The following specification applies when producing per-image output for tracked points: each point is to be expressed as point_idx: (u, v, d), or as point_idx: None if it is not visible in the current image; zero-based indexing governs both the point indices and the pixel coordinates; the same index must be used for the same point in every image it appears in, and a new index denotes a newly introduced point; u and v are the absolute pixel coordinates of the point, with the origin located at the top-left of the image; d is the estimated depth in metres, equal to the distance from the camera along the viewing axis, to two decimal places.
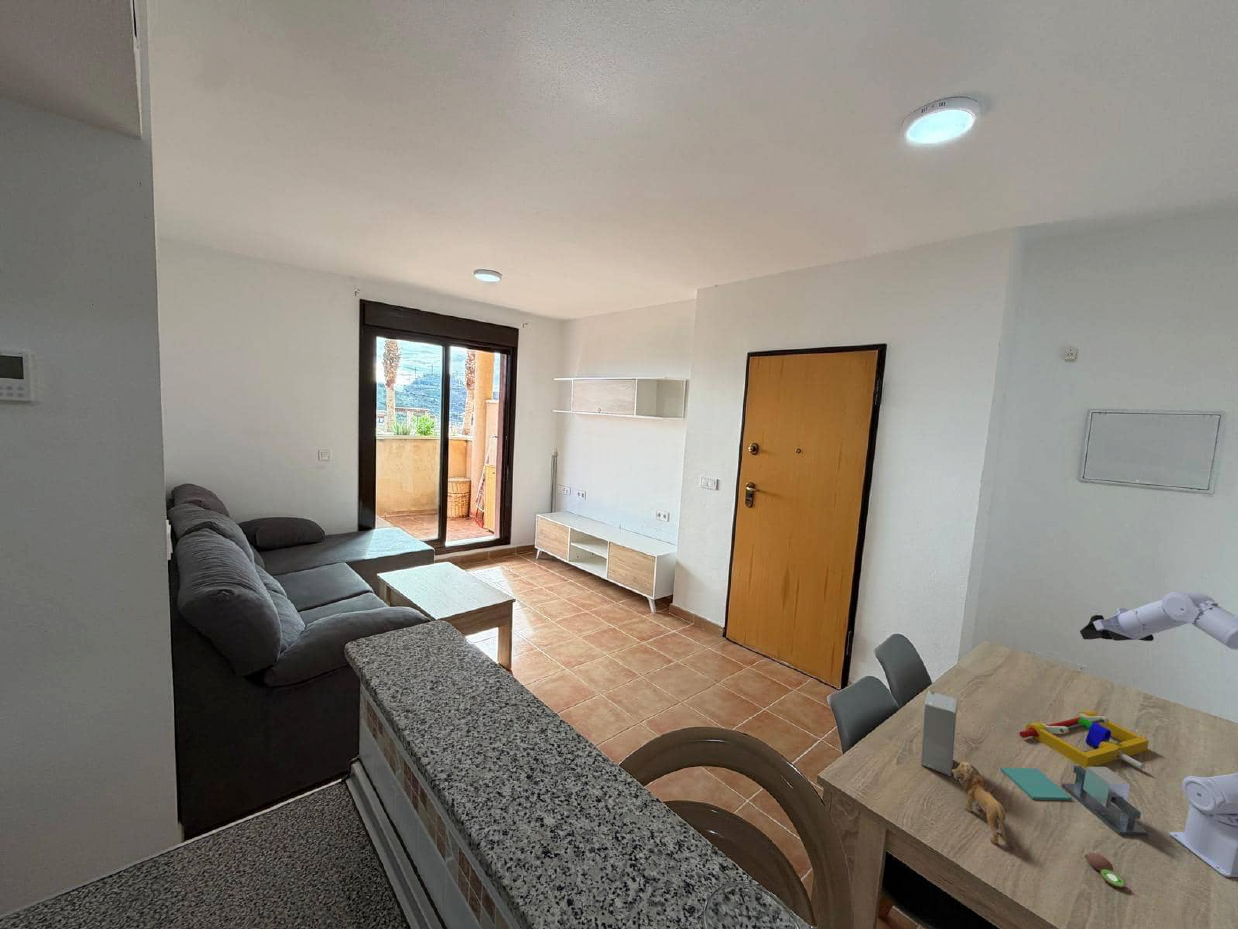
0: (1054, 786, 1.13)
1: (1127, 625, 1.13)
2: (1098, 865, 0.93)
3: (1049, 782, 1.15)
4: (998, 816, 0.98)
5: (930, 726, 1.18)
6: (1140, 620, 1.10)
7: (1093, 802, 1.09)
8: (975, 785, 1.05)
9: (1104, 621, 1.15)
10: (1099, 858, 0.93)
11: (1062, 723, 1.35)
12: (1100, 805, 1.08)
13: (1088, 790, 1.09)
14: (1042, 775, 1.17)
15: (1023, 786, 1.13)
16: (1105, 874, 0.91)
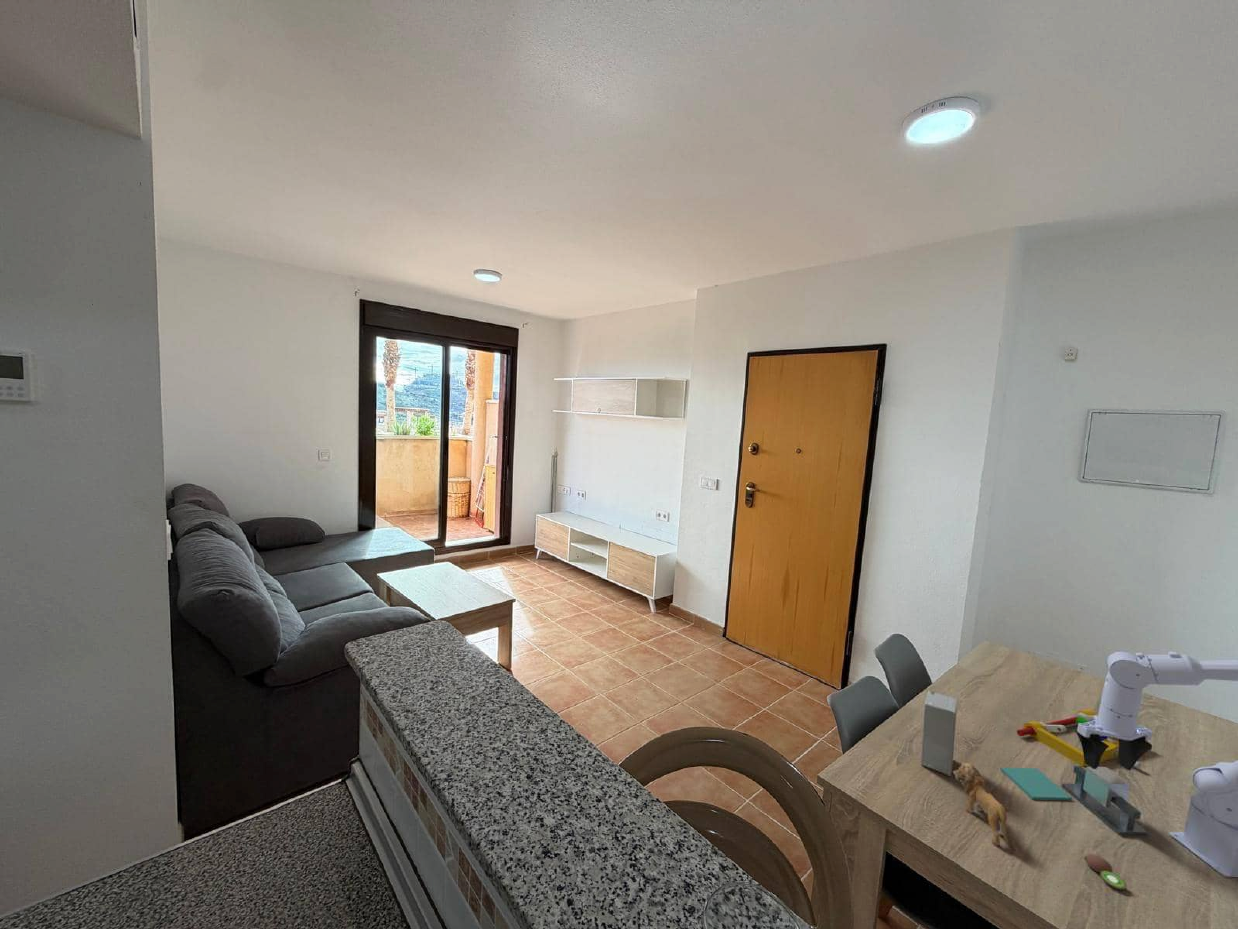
0: (1054, 786, 1.13)
1: (1106, 722, 1.05)
2: (1098, 867, 0.92)
3: (1049, 782, 1.15)
4: (1000, 817, 0.98)
5: (930, 726, 1.18)
6: (1124, 714, 1.03)
7: (1093, 802, 1.09)
8: (977, 786, 1.05)
9: (1085, 725, 1.06)
10: (1098, 859, 0.93)
11: (1060, 722, 1.35)
12: (1100, 805, 1.08)
13: (1088, 790, 1.09)
14: (1042, 775, 1.17)
15: (1023, 786, 1.13)
16: (1105, 876, 0.91)
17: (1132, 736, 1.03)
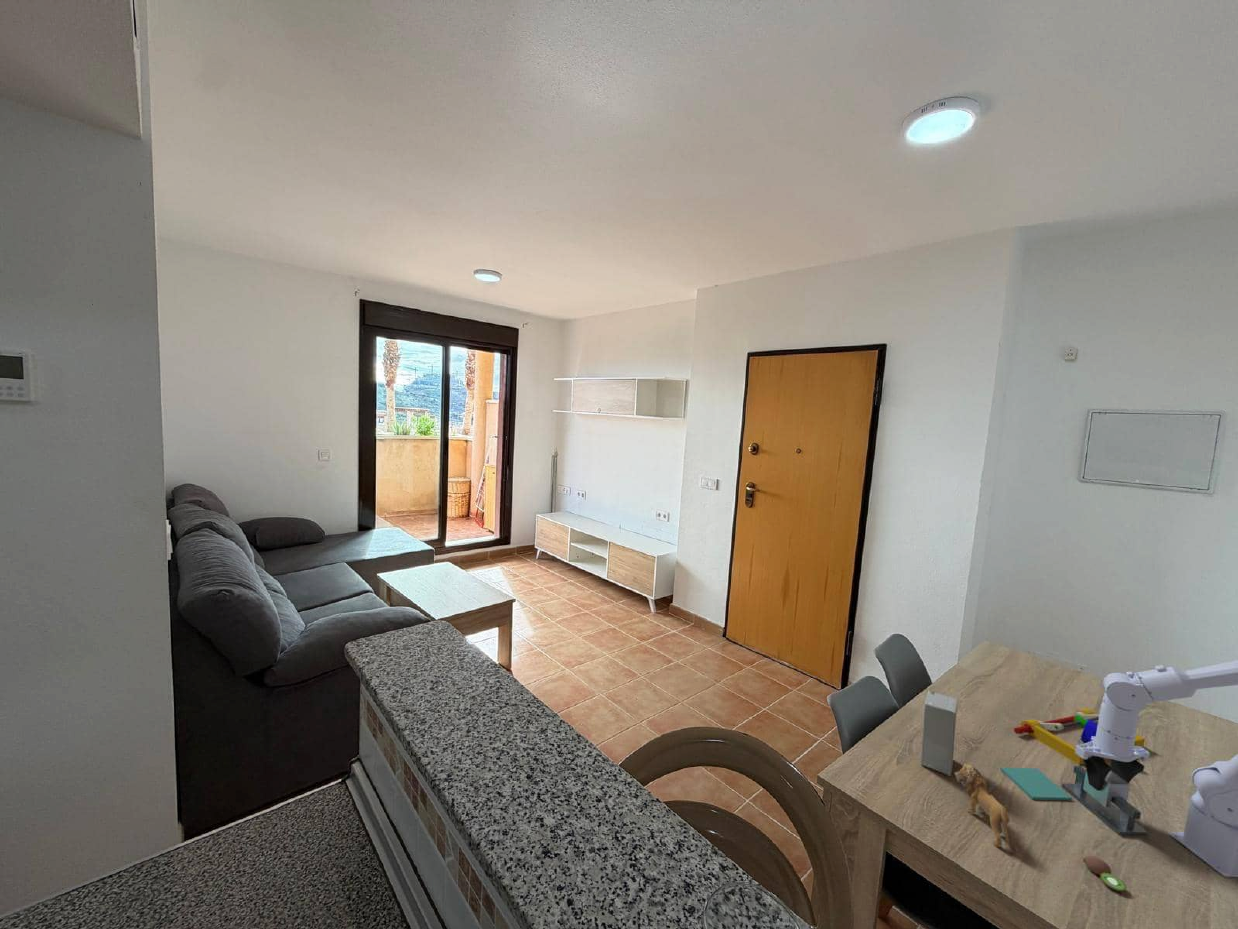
0: (1054, 786, 1.13)
1: (1104, 744, 1.05)
2: (1097, 869, 0.92)
3: (1049, 782, 1.15)
4: (1001, 819, 0.98)
5: (930, 726, 1.18)
6: (1121, 735, 1.03)
7: (1093, 802, 1.09)
8: (978, 788, 1.04)
9: (1083, 747, 1.07)
10: (1097, 861, 0.93)
11: (1058, 720, 1.36)
12: (1100, 805, 1.08)
13: (1088, 790, 1.09)
14: (1042, 775, 1.17)
15: (1023, 786, 1.13)
16: (1105, 878, 0.91)
17: (1130, 758, 1.03)
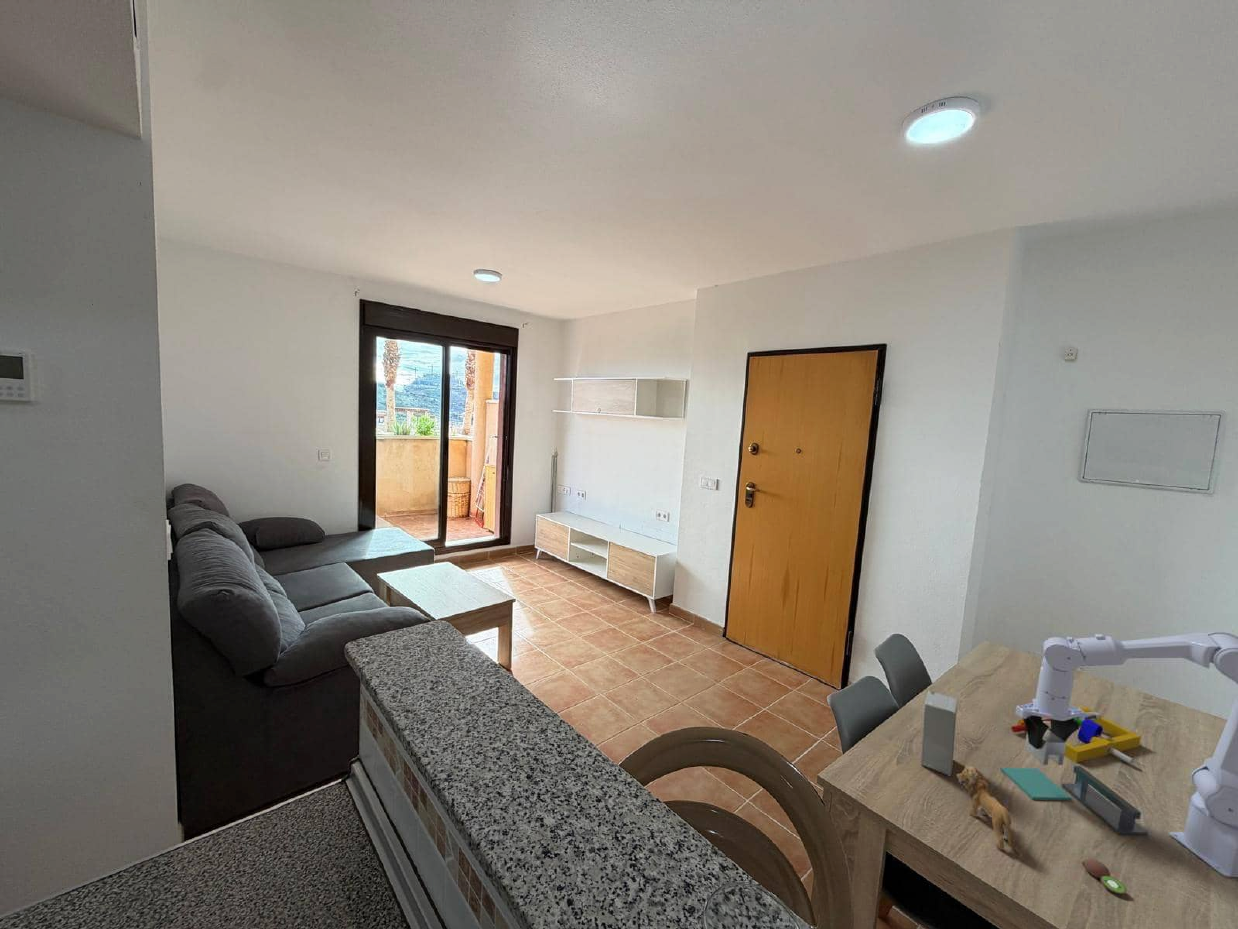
0: (1054, 786, 1.13)
1: (1042, 704, 1.11)
2: (1097, 872, 0.91)
3: (1049, 782, 1.15)
4: (1004, 822, 0.97)
5: (930, 726, 1.18)
6: (1058, 695, 1.09)
7: (1093, 802, 1.09)
8: (980, 790, 1.04)
9: (1023, 708, 1.12)
10: (1097, 864, 0.92)
11: None
12: (1100, 805, 1.08)
13: (1029, 749, 1.14)
14: (1042, 775, 1.17)
15: (1023, 786, 1.13)
16: (1106, 881, 0.90)
17: (1065, 717, 1.09)
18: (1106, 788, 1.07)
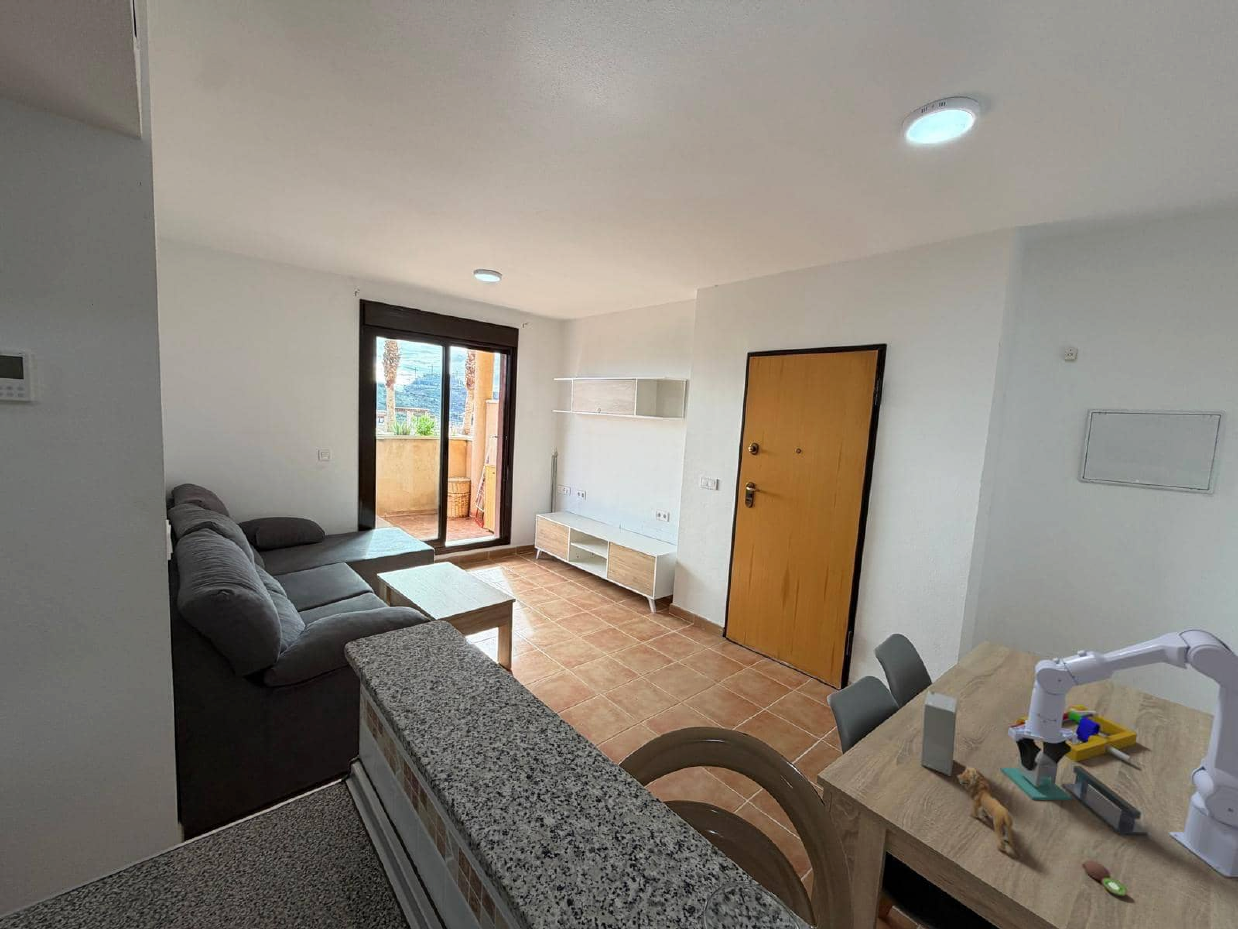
0: None
1: (1034, 726, 1.12)
2: (1098, 874, 0.91)
3: None
4: (1005, 823, 0.97)
5: (930, 726, 1.18)
6: (1049, 718, 1.10)
7: (1093, 802, 1.09)
8: (981, 791, 1.03)
9: (1015, 730, 1.14)
10: (1097, 866, 0.92)
11: None
12: (1100, 805, 1.08)
13: (1021, 770, 1.16)
14: None
15: (1023, 786, 1.13)
16: (1107, 884, 0.89)
17: (1057, 739, 1.10)
18: (1106, 788, 1.07)
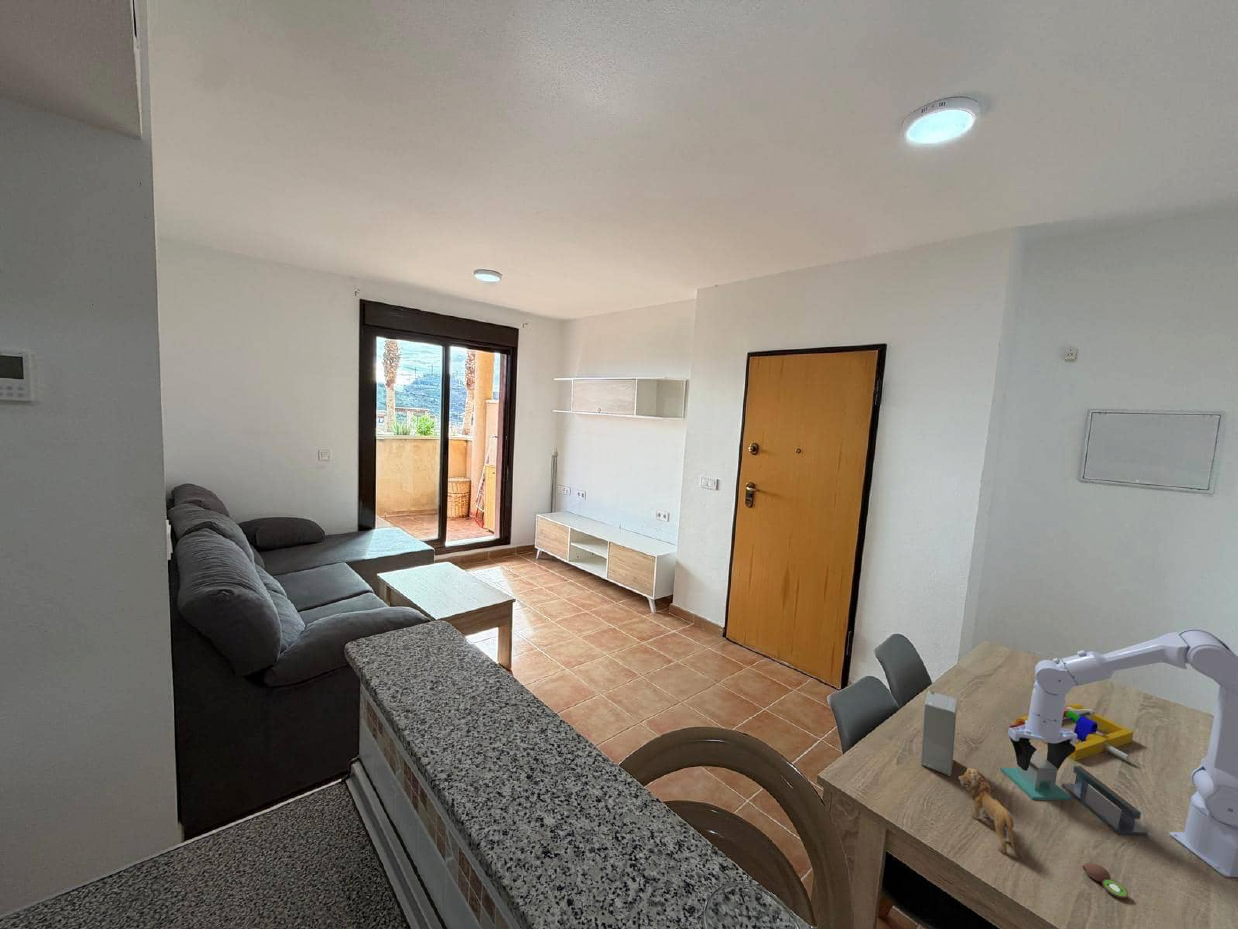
0: None
1: (1034, 727, 1.12)
2: (1098, 876, 0.90)
3: None
4: (1006, 824, 0.96)
5: (930, 726, 1.18)
6: (1049, 718, 1.10)
7: (1093, 802, 1.09)
8: (983, 792, 1.03)
9: (1015, 730, 1.14)
10: (1097, 868, 0.91)
11: None
12: (1100, 805, 1.08)
13: (1021, 774, 1.16)
14: None
15: (1023, 786, 1.13)
16: (1108, 885, 0.89)
17: (1057, 739, 1.10)
18: (1106, 788, 1.07)
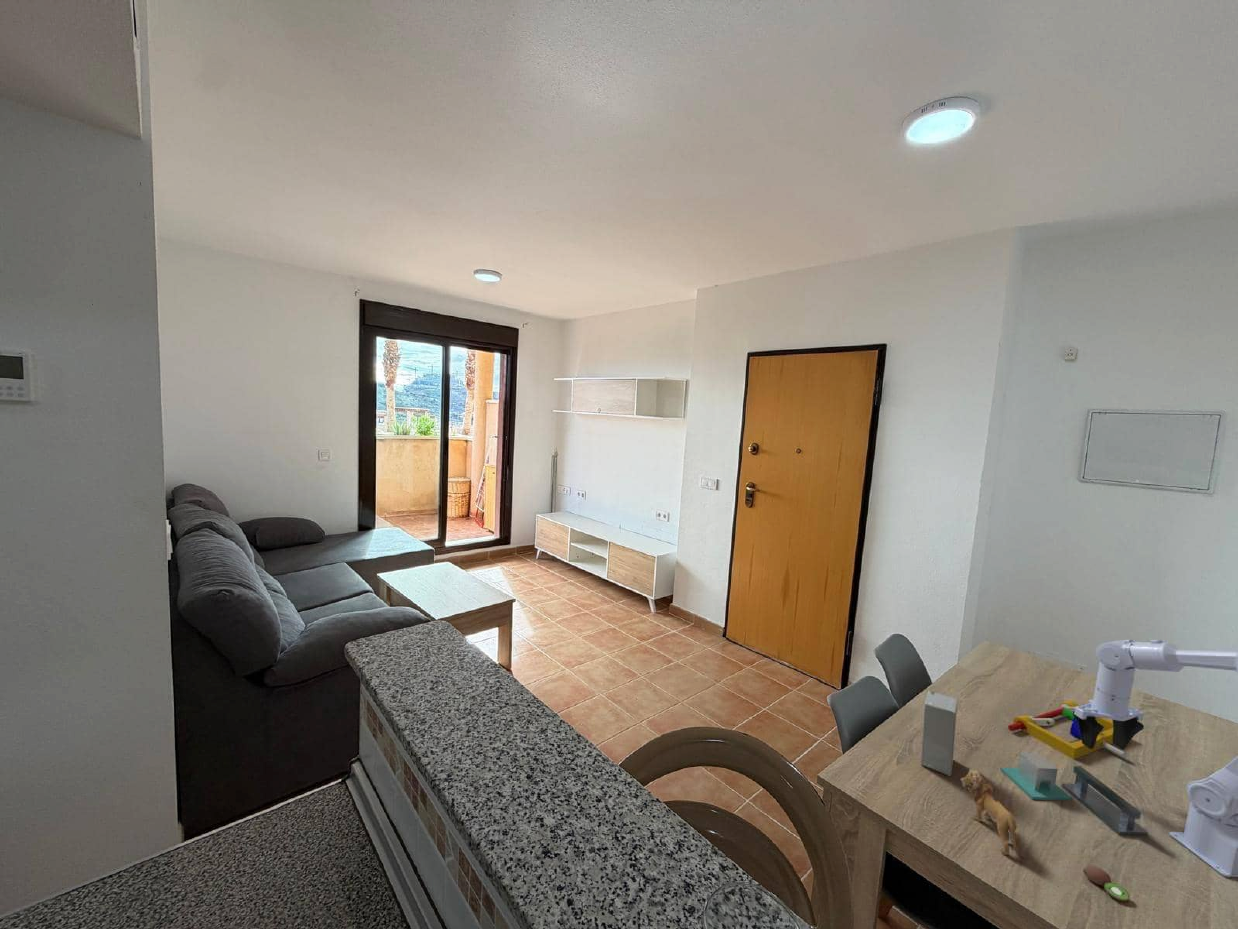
0: None
1: (1101, 705, 1.13)
2: (1100, 880, 0.90)
3: None
4: (1009, 827, 0.96)
5: (930, 726, 1.18)
6: (1107, 693, 1.12)
7: (1093, 802, 1.09)
8: (985, 794, 1.02)
9: (1081, 708, 1.14)
10: (1098, 871, 0.90)
11: (1046, 715, 1.39)
12: (1100, 805, 1.08)
13: (1021, 774, 1.16)
14: None
15: (1023, 786, 1.13)
16: (1110, 889, 0.88)
17: (1125, 717, 1.11)
18: (1106, 788, 1.07)
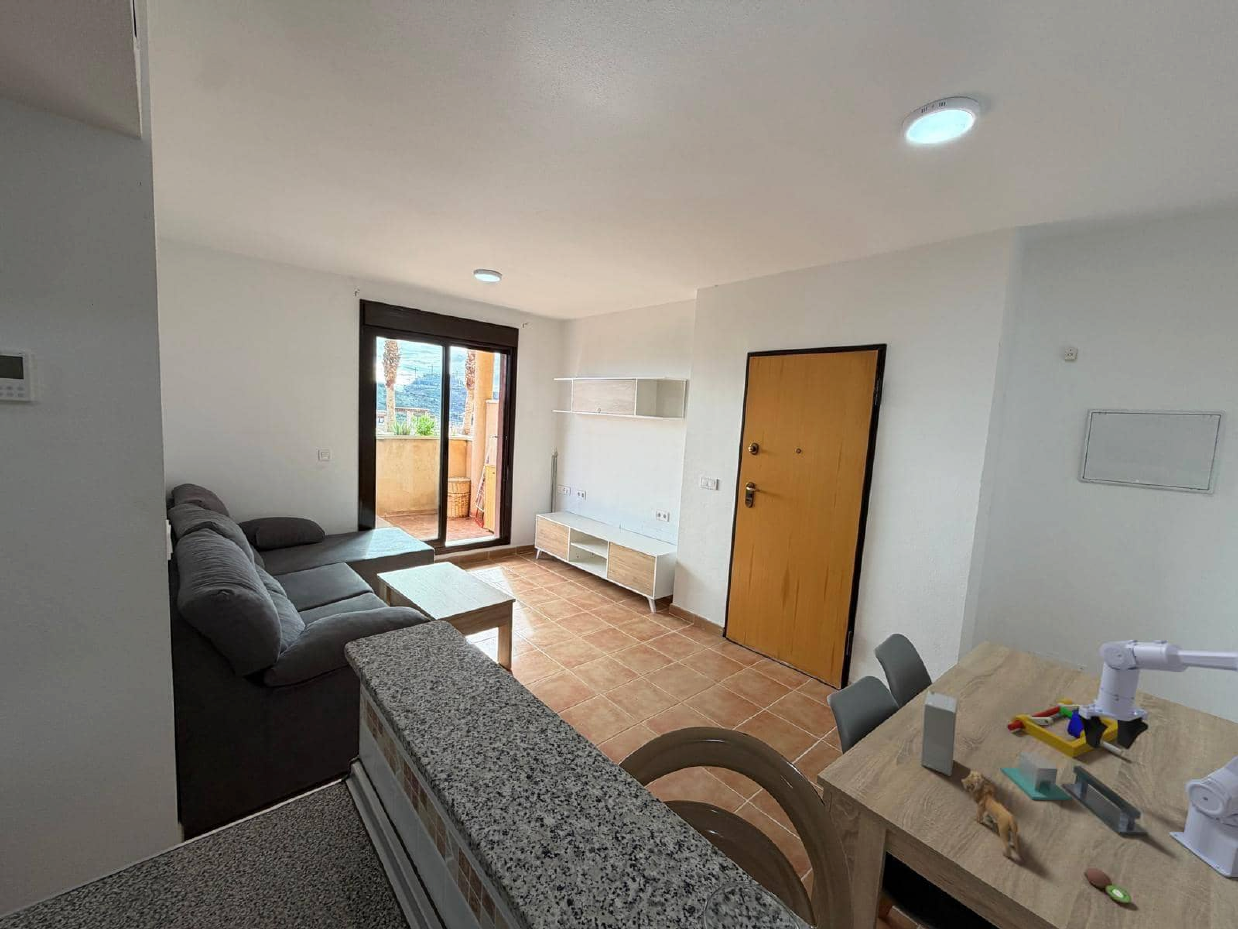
0: None
1: (1106, 705, 1.13)
2: (1101, 883, 0.89)
3: None
4: (1011, 828, 0.96)
5: (930, 726, 1.18)
6: (1110, 692, 1.12)
7: (1093, 802, 1.09)
8: (986, 796, 1.02)
9: None
10: (1099, 874, 0.90)
11: (1044, 713, 1.39)
12: (1100, 805, 1.08)
13: (1021, 774, 1.16)
14: None
15: (1023, 786, 1.13)
16: (1111, 892, 0.88)
17: (1129, 717, 1.11)
18: (1106, 788, 1.07)
